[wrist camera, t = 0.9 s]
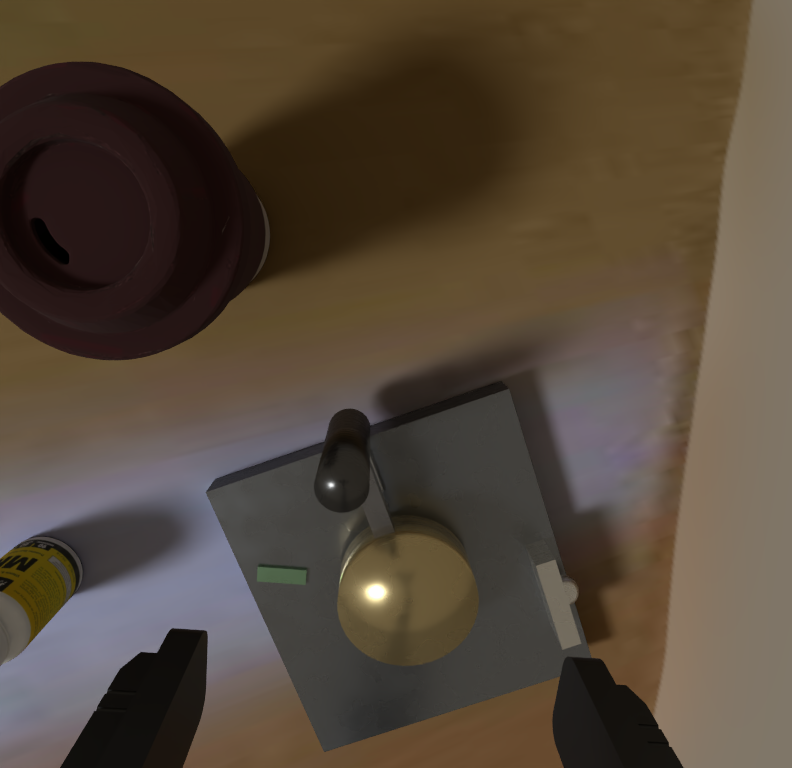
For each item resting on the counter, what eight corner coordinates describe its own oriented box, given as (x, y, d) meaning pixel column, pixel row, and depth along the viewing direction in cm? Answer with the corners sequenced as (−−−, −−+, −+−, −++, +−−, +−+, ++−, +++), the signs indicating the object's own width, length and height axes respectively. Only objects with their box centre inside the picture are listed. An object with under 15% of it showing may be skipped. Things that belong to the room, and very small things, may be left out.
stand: (586, 643, 40) (613, 691, 35) (326, 727, 40) (321, 784, 36) (506, 379, 35) (524, 397, 31) (214, 479, 36) (193, 510, 32)
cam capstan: (486, 608, 36) (519, 714, 28) (366, 648, 36) (363, 764, 28) (408, 387, 32) (420, 432, 24) (276, 432, 33) (244, 492, 24)
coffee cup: (292, 142, 32) (222, 45, 17) (297, 320, 34) (239, 370, 19) (110, 138, 31) (-121, 37, 17) (127, 319, 33) (-63, 369, 19)
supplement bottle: (63, 524, 36) (-27, 603, 28) (97, 586, 37) (20, 680, 29) (-5, 549, 36) (-115, 635, 28) (30, 610, 37) (-66, 710, 29)
